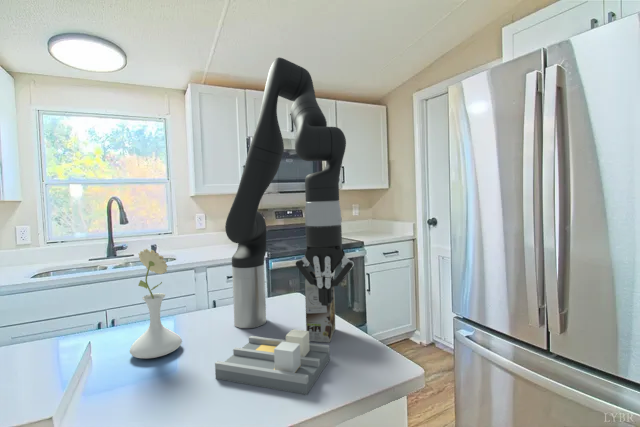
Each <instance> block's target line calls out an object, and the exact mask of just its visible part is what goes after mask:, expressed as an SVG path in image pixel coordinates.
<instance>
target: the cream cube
mask: <svg viewBox="0 0 640 427" xmlns="http://www.w3.org/2000/svg"><path fill="white" fill-rule="evenodd" d="M285 340H286V342H290V343H298V344H300V356H302V357H305V356H306V354H307V353H308V352H309V351H310V347H309V343H310V341H309V331H306V330H304V329H303V330H300V329H295V328H294V329H291V330H290V331H289V332H288V333H286V335H285Z"/></svg>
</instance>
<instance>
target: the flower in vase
mask: <svg viewBox="0 0 640 427" xmlns="http://www.w3.org/2000/svg"><path fill="white" fill-rule="evenodd" d="M138 258H139V261H140V263H142V265H143V266H144V267H145V268H146V269H147V271H146V274H145V281H144V280H142V279H141V280H139V282H138V287H142V288H144V289H146V290H147V289H148V291H149V293H150V294H146V295H144V296H142V300H143V301H144V302H145V303H146V305H147V309H148V311H149V312H148V313H149V325H148V328H147V329H146V330H145V331H144V332H143V333H142V334H141V335H140V336H139V337H138V338H137V339H135V341H134V342H133V343H132V344H131V346H130V347H129V348H130V349H129V353H130V355H131V356H133V357H134V358H137V359H154V358H155V359H156V358H159V357H163V356H166V355H168V354H171V353H172V352H174V351H176V350H178V348H180V346H181V345H182V342H183V339H182V337H181V336H180V335H179V334H178V333H176V332H174V331H172V330H170V329H169V328H167V327H165V326H164V325H163V324H162V321H161V320H162V319H161V307H162V303H163V300H164V298H165V297H166V293H161V292H159V293H158V292H157V293H156V292H155V293H153V292H152V291H153V290H154V289H155V290H156V288H158V287H159V286H161V285H162V284H163V282H162V281H161V282H160V283H159V284H157V285H155V286H153V287H152V288H150V286H149V284H148V275H149V271H150V272H152V273H154V274H157V275H158V274H160V275H162V274H165V273H167V272H168V270H167V269H168V267H169V266H168V265H167V261H166V260H164V256H162V255H160V254H159V253H158V252H156V251H155V250H153V249H151V250H149V249H148V248H144V249H143V250H142V251H141V250H140V252H139V253H138Z"/></svg>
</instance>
